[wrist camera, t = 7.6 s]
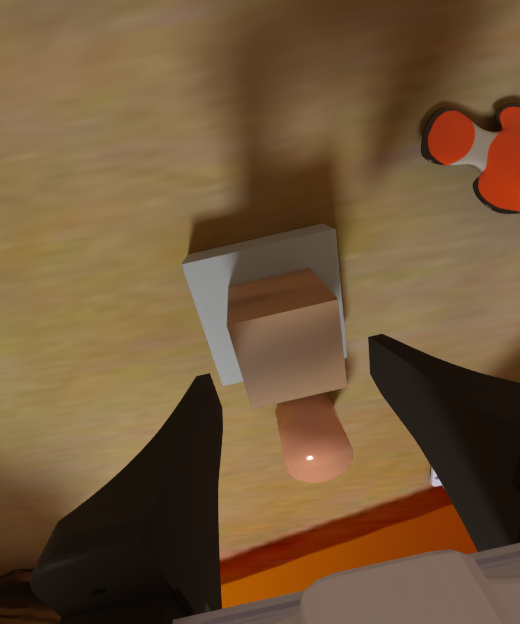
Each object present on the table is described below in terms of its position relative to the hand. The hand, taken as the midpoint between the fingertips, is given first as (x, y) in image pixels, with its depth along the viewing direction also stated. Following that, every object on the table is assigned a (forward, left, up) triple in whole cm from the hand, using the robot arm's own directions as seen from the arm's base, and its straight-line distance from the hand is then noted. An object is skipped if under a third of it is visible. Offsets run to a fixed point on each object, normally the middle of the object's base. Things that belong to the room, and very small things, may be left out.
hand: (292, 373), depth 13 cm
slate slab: (0, 0, -9) cm, 9 cm away
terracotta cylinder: (-11, -1, -9) cm, 14 cm away
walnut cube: (0, 0, -6) cm, 6 cm away
